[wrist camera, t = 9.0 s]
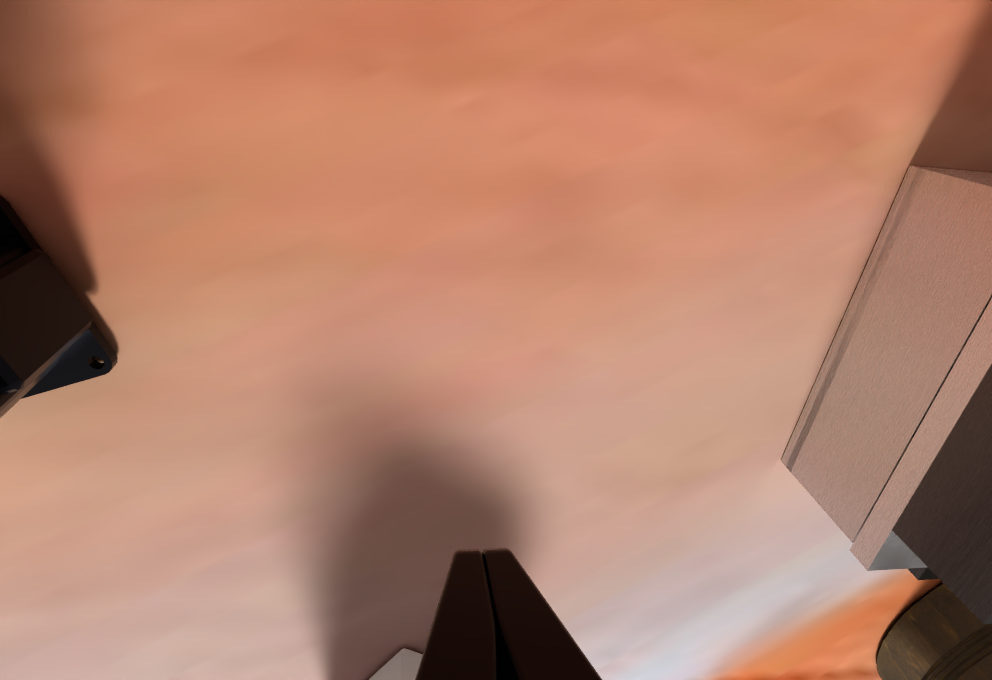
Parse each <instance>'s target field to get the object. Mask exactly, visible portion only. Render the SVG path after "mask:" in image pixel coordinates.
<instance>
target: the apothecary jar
mask: <svg viewBox="0 0 992 680" xmlns="http://www.w3.org/2000/svg"><path fill="white" fill-rule="evenodd" d="M877 670H878V673H879V675H880V677H881V679H882V680H992V624H983V623H982V622H981V621H980V620H979V619H978V618H977V617H976V616H975V615H974V614H973V613H972V612H971V611H970V610H969V609H968V608H967V607H966V606H965V605H964V604H963V603H962V602H961V601H960V600H959V599H958V598H957V597H956V595H955V594H954V593H953V592H952V591H951V590H950V589H949V588H948V587H947V586H946V585H945V584H944V583H943V584H941V585H940V586H938V587H937V588H935V589H934V590H932V591H931V592H929V593H928V594H927V595H925V596H924V597H923V598H921V599H920V600H919V601H918V602H917V603H915V604H914V605H913V606H912V607H911V608H910V609H908V610H907V611H906V612H905V613H904V614H903V615H902V616H901V618H900V619H899V620H898V621H897V622H896V623H895V624H894V626H893V627H892V628H891V630H890V631H889V633H888V634H887V636H886V637H885V639H884V641H883V643H882V645H881V647H880V650H879V653H878V657H877Z"/></svg>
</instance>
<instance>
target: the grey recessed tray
mask: <svg viewBox="0 0 992 680" xmlns="http://www.w3.org/2000/svg"><path fill="white" fill-rule="evenodd" d="M991 299H992V173H989V172H978V171H967V170H955V169H944V168H932V167H921V166H909V168H908V171H907V173H906V175H905V178H904V180H903V182H902V184H901V187H900V189H899V191H898V194H897V196H896V198H895V200H894V203H893V205H892V207H891V210H890V212H889V214H888V217H887V219H886V221H885V223H884V226H883V228H882V230H881V233H880V235H879V237H878V239H877V242H876V244H875V246H874V249H873V251H872V253H871V256H870V258H869V260H868V262H867V265H866V267H865V269H864V272H863V274H862V276H861V278H860V281H859V283H858V285H857V288H856V290H855V292H854V294H853V297H852V299H851V301H850V304H849V306H848V308H847V311H846V313H845V315H844V317H843V320H842V322H841V324H840V327H839V329H838V331H837V333H836V336H835V338H834V340H833V343H832V345H831V347H830V350H829V352H828V354H827V356H826V359H825V361H824V363H823V366H822V368H821V370H820V372H819V375H818V377H817V379H816V382H815V384H814V386H813V389H812V391H811V393H810V395H809V398H808V400H807V402H806V405H805V407H804V409H803V411H802V414H801V416H800V418H799V421H798V423H797V425H796V427H795V430H794V432H793V434H792V437H791V439H790V441H789V444H788V446H787V448H786V450H785V453H784V455H783V457H782V460H781V462H782V463H783V464H784V465H785V466H786V467H787V468H788V470H789V471H790V472H791V473H792V474H793V475H794V476H795V478H796V479H797V480H798V481H799V482H800V483H801V484H802V486H803V487H804V488H805V489H806V490H807V491H808V492H809V494H810V495H811V496H812V497H813V498H814V499H815V500H816V502H817V503H818V504H819V505H820V506H821V507H822V508H823V510H824V511H825V512H826V513H827V514H828V515H829V516H830V518H831V519H832V520H833V521H834V522H835V523H836V524H837V526H838V527H839V528H840V529H841V530H842V531H843V532H844V534H845V535H846V536H847V537H848V538H849V539H850V540H851V542H855V540H856V538H857V536H858V534H859V533H860V531H861V529H862V527H863V526H864V524H865V522H866V520H867V518H868V517H869V515H870V513H871V511H872V510H873V508H874V506H875V504H876V503H877V501H878V499H879V497H880V495H881V494H882V492H883V490H884V488H885V487H886V485H887V483H888V481H889V480H890V478H891V476H892V474H893V472H894V471H895V469H896V467H897V465H898V464H899V462H900V460H901V458H902V456H903V455H904V453H905V451H906V449H907V448H908V446H909V444H910V442H911V441H912V439H913V437H914V435H915V433H916V432H917V430H918V428H919V426H920V425H921V423H922V421H923V419H924V418H925V416H926V414H927V412H928V410H929V409H930V407H931V405H932V403H933V402H934V400H935V398H936V396H937V394H938V393H939V391H940V389H941V387H942V386H943V384H944V382H945V380H946V379H947V377H948V375H949V373H950V371H951V370H952V368H953V366H954V364H955V363H956V361H957V359H958V357H959V356H960V354H961V352H962V350H963V348H964V347H965V345H966V343H967V341H968V340H969V338H970V336H971V334H972V333H973V331H974V329H975V327H976V325H977V324H978V322H979V320H980V318H981V317H982V315H983V313H984V311H985V309H986V308H987V306H988V304H989V302H990V301H991ZM907 569H908V570H909V571H910V572H911V573H912V574H913V575H914V576H915V577H916V578H917V579H918V580H926V579H939V578H938V577H937V576H936V575H935V574H934V573H933V572H932V571H931V570H930V569H929V568H928V567H926V568H907Z"/></svg>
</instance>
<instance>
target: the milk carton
mask: <svg viewBox="0 0 992 680" xmlns="http://www.w3.org/2000/svg"><path fill="white" fill-rule="evenodd" d="M422 656H423V654H420V653H417V652H414V651H412V650H409V649H405V648H403V649H402V650H400V651H399V652H398V653H397V654H396V655H395V656H394V657H393V658H392V659H391V660H389V661H388V662H387V663H386V664H385V665H384V666H383V667H382V668H381V669H380V670H378V671H377V672H376V673H375V674H374V675H373V676H372V677H371V678H370V679H369V680H415V678H416V675H417V672H418V668H419V665H420V662H421V659H422Z"/></svg>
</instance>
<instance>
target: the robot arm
mask: <svg viewBox="0 0 992 680" xmlns="http://www.w3.org/2000/svg"><path fill="white" fill-rule="evenodd" d="M95 356H96V357H99V358H101V359H102V360H103V361H104V363H100V362H97V361H96V360H95V359H94V357H95ZM116 363H117V356H116V353H115V352H114V350H113V349H112V348H111V346H110V345H109V343H108V342H107V341H106V339H105V338H104V336H103V335H102V334H101V332H100V331H99V329H98V328H97V326H96V325H95V324H94V322H93V321H92V317H91V315H90V314H89V313H88V311H87V310H86V308H85V307H84V306H83V304H82V303H81V301H80V300H79V298H78V297H77V296H76V294H75V293H74V291H73V290H72V289H71V287H70V286H69V284H68V283H67V281H66V280H65V279H64V277H63V276H62V274H61V273H60V272H59V270H58V269H57V267H56V266H55V264H54V263H53V262H52V260H51V259H50V257H49V256H48V255H47V254H46V253H44V252H43V250H42V249H41V247H40V246H39V245H38V243H37V242H36V240H35V239H34V238H33V236H32V235H31V233H30V232H29V230H28V229H27V228H26V226H25V225H24V223H23V222H22V221H21V219H20V218H19V216H18V215H17V214H16V212H15V211H14V209H13V208H12V207H11V205H10V204H9V203H8V202H7V201H6V199H5V198H3V197H2V196H0V418H1V417H2V416H3V415H4V414H5V413H6V412H7V411H8V410H9V409H10V408H11V407H12V406H14V405H15V404H16V403H17V402H18V401H19V400H20V399H22V398H25V397H29V396H32V395H36V394H39V393H43V392H46V391H50V390H53V389H56V388H60V387H63V386H67V385H70V384H74V383H77V382H80V381H84V380H87V379H91V378H94V377H98V376H101V375H105V374H107V373H108V372H110V371H111V370H112V368H113V367H114V366H115V365H116ZM415 680H602V679H601V677H600V676H599V675H598V673H597V672H596V670H595V669H594V668H593V666H592V665H591V663H590V662H589V661H588V659H587V658H586V656H585V655H584V653H583V652H582V651H581V649H580V648H579V646H578V645H577V644H576V642H575V641H574V639H573V638H572V637H571V635H570V634H569V632H568V631H567V629H566V628H565V627H564V625H563V624H562V622H561V621H560V620H559V618H558V617H557V615H556V614H555V612H554V611H553V610H552V608H551V607H550V605H549V604H548V603H547V601H546V600H545V598H544V597H543V596H542V594H541V593H540V591H539V590H538V588H537V587H536V586H535V584H534V583H533V581H532V580H531V579H530V577H529V576H528V574H527V573H526V572H525V570H524V569H523V567H522V566H521V564H520V563H519V562H518V560H517V559H516V557H515V556H514V555H513V553H512V552H511V551H510V550H509V549H507V548H495V549H485V550H484V551H483V552H481V551H480V550H478V549H468V550H457V551H456V552H455V553H454V555H453V558H452V562H451V565H450V568H449V571H448V575H447V578H446V581H445V584H444V588H443V591H442V594H441V597H440V601H439V604H438V607H437V610H436V613H435V617H434V620H433V623H432V626H431V630H430V633H429V636H428V639H427V643H426V646H425V649H424V652H423V656H422V659H421V662H420V665H419V668H418V672H417V675H416V678H415Z"/></svg>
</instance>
